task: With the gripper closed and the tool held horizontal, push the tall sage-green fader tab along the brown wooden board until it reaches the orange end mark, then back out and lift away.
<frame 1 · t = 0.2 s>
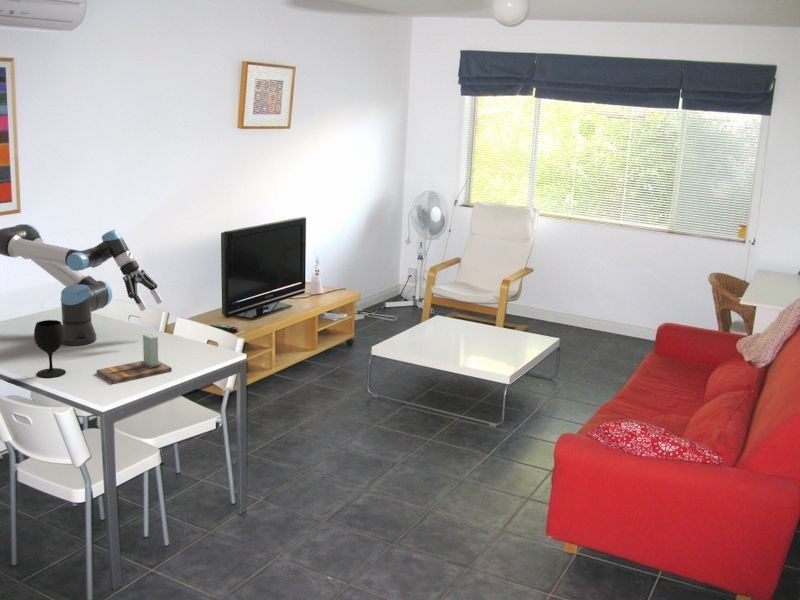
hand: (152, 306, 361), 15 cm above the table, tool tilted 35°, fingers open, 13 cm apart
fader: (150, 350, 326), point 8 cm above the table, slide at 0.0 cm
brown wooden board: (134, 372, 323), on the table
wine glass: (51, 374, 318), on the table
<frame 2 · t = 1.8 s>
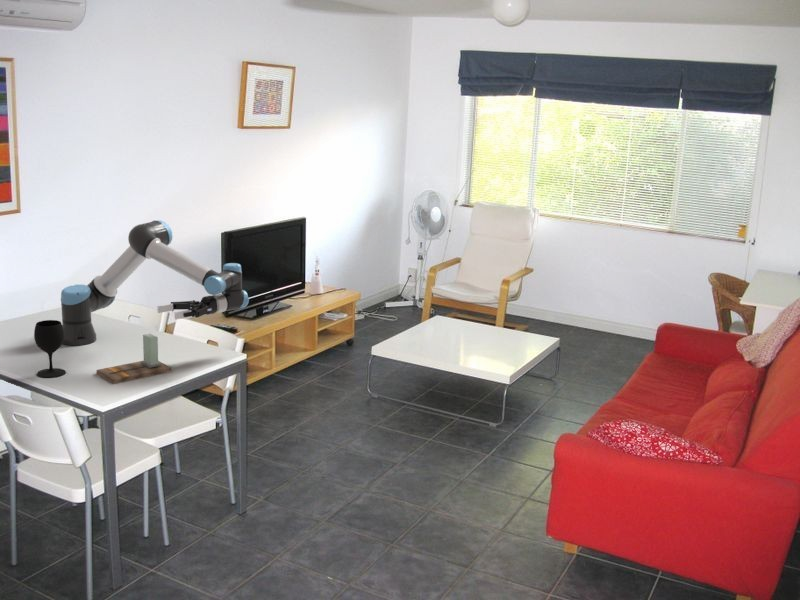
hand: (166, 312, 328), 22 cm above the table, tool horizontal, fingers open, 13 cm apart
nothing on the table moved.
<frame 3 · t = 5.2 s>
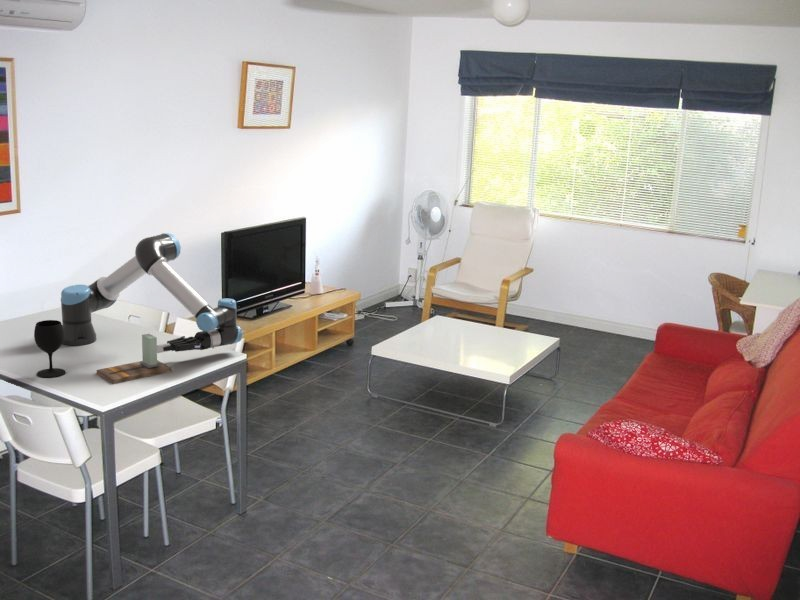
hand: (154, 349, 327), 8 cm above the table, tool horizontal, fingers closed
fader: (149, 350, 326), point 8 cm above the table, slide at 0.4 cm, touching gripper
everything else where it was.
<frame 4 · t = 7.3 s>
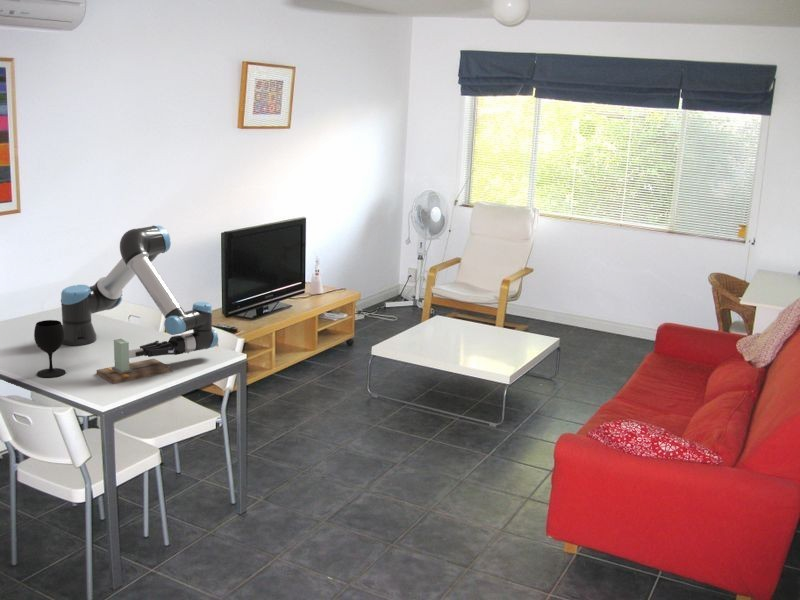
hand: (126, 354, 319), 8 cm above the table, tool horizontal, fingers closed
fader: (121, 355, 318), point 8 cm above the table, slide at 12.0 cm, touching gripper
everything else where it was.
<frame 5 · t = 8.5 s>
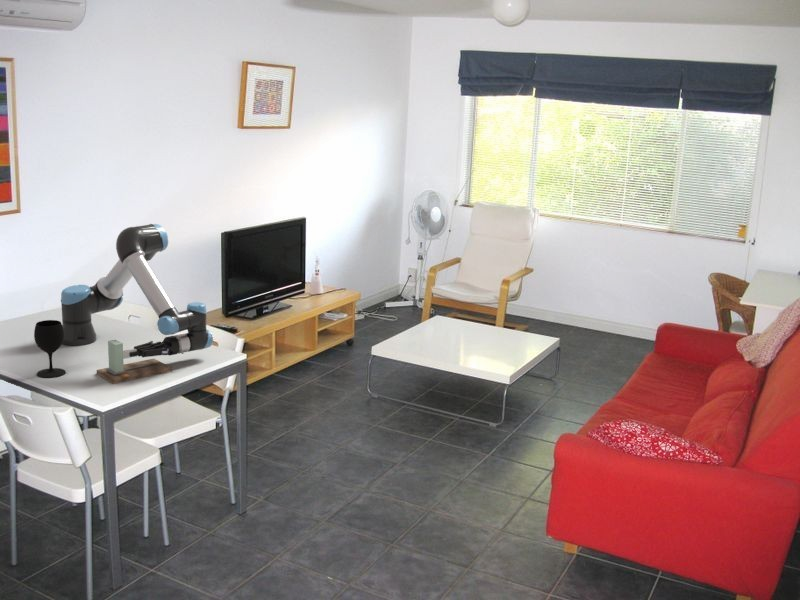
hand: (120, 355, 318), 8 cm above the table, tool horizontal, fingers closed
fader: (115, 356, 316), point 8 cm above the table, slide at 14.3 cm, touching gripper
everything else where it was.
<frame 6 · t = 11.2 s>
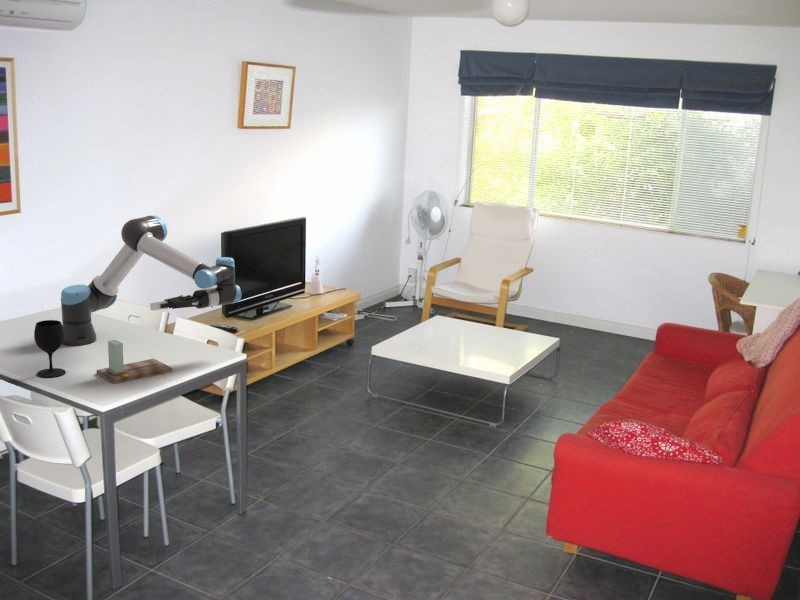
hand: (151, 306, 323), 25 cm above the table, tool horizontal, fingers closed
fader: (115, 356, 316), point 8 cm above the table, slide at 14.3 cm
everything else where it was.
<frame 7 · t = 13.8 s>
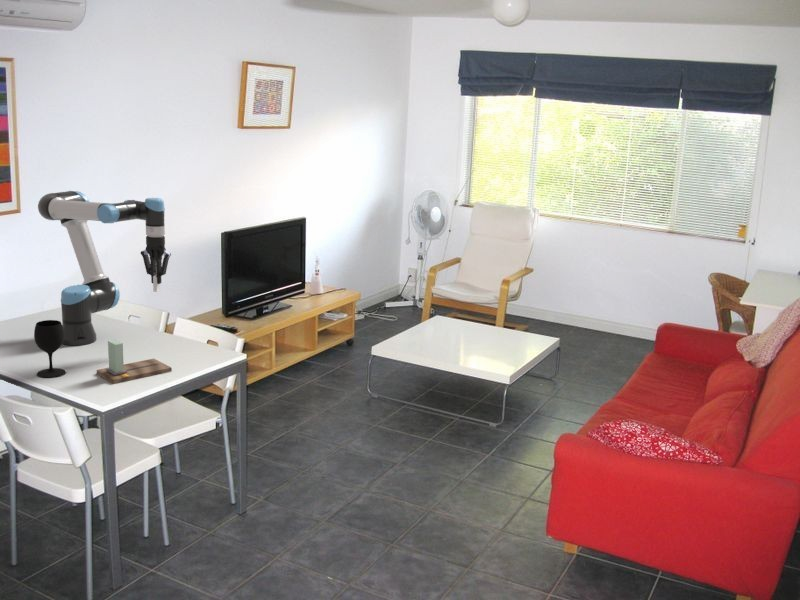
hand: (156, 291, 350), 24 cm above the table, tool pointing down, fingers closed
nothing on the table moved.
at the end: fader slide at 14.3 cm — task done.
